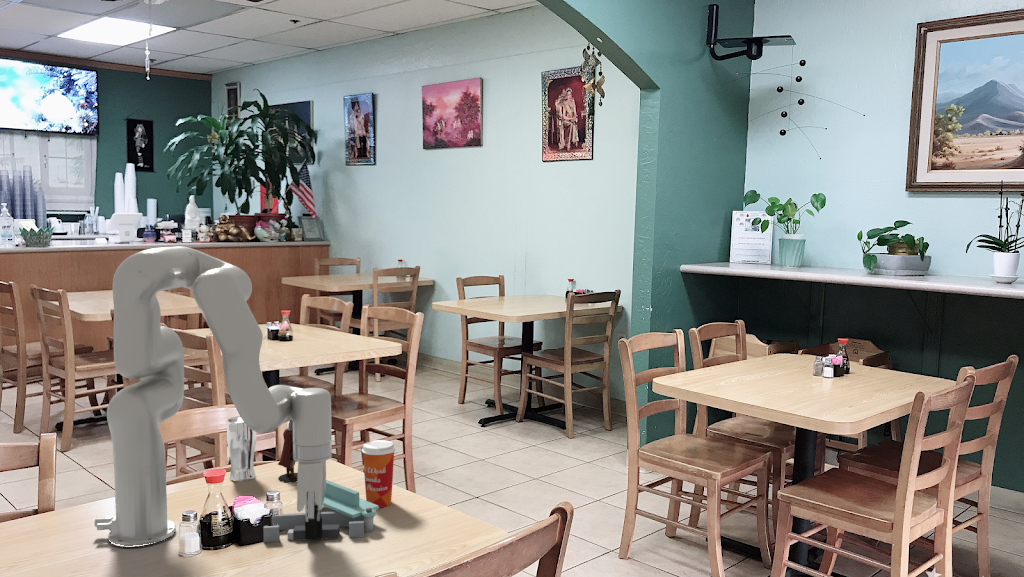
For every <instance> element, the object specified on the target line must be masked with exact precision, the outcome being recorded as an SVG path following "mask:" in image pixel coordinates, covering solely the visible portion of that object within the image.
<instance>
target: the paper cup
mask: <svg viewBox="0 0 1024 577" xmlns="http://www.w3.org/2000/svg"><path fill="white" fill-rule="evenodd" d="M395 451H397V450H396V447H395V445H394V442H392V441H391V440H390V441H389V440H386V439H385V440H384V439H377V440H370V441H367V442H365V443H364V444H363V446H362V449H361V452H362V454H363V455H362V456H363V457H362V458H363V473H364V487H365V498H366V499H365V501H368V502H371V503H373V504H376V505H378V506H379V509H381V508H385V507H386V508H387V507H388V506H390V505H391V503H392V496H393V494H392V493H393V479H394V463H395V462H394V460H395V459H394V458H395Z"/></svg>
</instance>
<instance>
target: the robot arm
mask: <svg viewBox="0 0 1024 577" xmlns="http://www.w3.org/2000/svg"><path fill="white" fill-rule="evenodd" d="M179 288H184V289H187V290H190V291H192V295H193V298H194V300H195V302H196V304H197V307H198V308H199V310H200V312H201V315H202V316H203V319H204V321H206V324H207V326H208V328H209V330H210V331H211V334H212V335H213V338H214V339H215V341H216V343H217V344H216V345H218V347H219V350H220V351H221V355H222V368H223V374H224V375H223V376H224V380H225V381H224V382H225V385H226V389H227V392H228V395H229V397H230V399H231V401H232V403H233V405H234V408H235V409H236V411H237V412H238V415H239V416H240V417H241V418H242V420H243V421H244V423H245V424H246V425H247V426H248V427H249V428H250V429H252V430H253V431H255V432H256V433H259V434H260V433H261V434H265V433H271V432H273V431H275V430H276V429H278V428H279V427H280V426H282V424H285V423H287V422H290V420H292V421H293V459H294V460H295V462H296V461H297V473H298V475H297V482H296V483H297V484H296V485H297V488H296V489H297V490H296V495H297V496H296V497H297V498H296V500H297V501H296V511H297V512H298V513H299V512H300V513H301V511H304V509H305V512H304V513H306V520H305V539H306V540H305V541H317V540H318V541H320V540H322V539H321V538H322V518H320V517H321V512H322V509H323V507H324V506H323V503H324V498H325V490H326V480H327V461H328V460H330V459H331V458H332V456H333V453H332V452H333V449H332V445H333V444H332V441H333V440H332V396H331V393H330V392H329V390H328V389H326V388H322V387H305V388H303V387H302V388H301V387H297V386H292V385H286V384H276V385H272V386H270V387H269V388H268V386H267V383H266V382H265V379H264V376H263V374H262V371H261V370H262V369H261V365H260V353H261V349H262V346H263V345H262V344H263V338H264V337H263V331H262V329H261V328H260V325H259V323H258V322H257V320H256V317H255V316H254V313H253V312H252V310H251V308H250V306H249V304H248V302H247V301H248V300H249V299H250V298H251V295H252V293H253V292H252V291H253V283H252V280H251V278H250V277H249V275H248V273H247V272H245V270H243V269H241V268H240V267H238V266H236V265H234V264H231V263H229V262H226V261H224V260H222V259H219V258H217V257H215V256H212V255H210V254H207V253H205V252H203V251H200V250H197V249H194V248H192V247H187V246H182V245H181V246H179V245H178V246H165V247H163V246H162V247H154V248H148V249H144V250H141V251H138V252H136V253H134V254H131V255H129V256H128V257H127V258H125V259H124V260H123V261H122V262H121V263H120V264H119V265H118V266H117V268H116V270H115V272H114V274H113V279H112V300H113V362H114V363H113V364H114V367H115V369H116V372H117V373H119V375H120V376H122V377H124V378H126V379H132V380H137V379H139V382H138V381H137V382H135V383H133V384H131V385H128V386H126V387H124V388H122V389H120V390H119V391H118V392H116V393H115V394H114V395H113V396H112V397H111V398H110V400H109V403H108V405H107V409H106V419H107V424H108V429H109V432H110V437H111V443H112V456H113V470H114V471H113V472H114V473H113V474H114V477H113V478H114V498H115V500H114V501H115V514H113V515H111V516H109V517H108V516H100V517H99V516H98V517H97V516H96V517H95V519H94V527H95V528H96V530H97V531H105V530H109V533H108V535H107V539H109V540H110V541H111V542H113V543H115V544H120V545H124V546H133V545H143V544H149V543H150V544H151V543H154V542H159V541H161V540H164V539H166V538H168V537H170V536H171V537H172V536H174V534H175V533H176V531H177V530H176V528H177V527H176V524H175V523H174V522H173V520H169V519H168V505H167V504H168V500H167V499H168V498H167V470H166V468H167V467H166V447H165V444H164V439H163V436H162V433H161V430H160V427H159V425H160V424H161V423H163V422H164V421H166V420H168V419H171V417H173V416H175V415H176V414H177V413H178V412H179V410H180V409H181V407H182V405H183V402H184V395H185V352H184V351H185V350H184V346H183V342H182V340H181V338H180V336H179V335H178V334H177V333H176V332H175V330H173V329H171V328H169V327H167V326H165V325H161V317H162V316H161V312H162V311H161V308H160V303H159V300H158V298H157V293H159V292H163V291H168V290H173V289H174V290H175V289H179ZM175 530H176V531H175ZM174 532H175V533H174ZM171 537H170V538H171ZM168 539H169V538H168ZM166 540H167V539H166ZM164 541H165V540H164ZM159 543H160V542H159Z"/></svg>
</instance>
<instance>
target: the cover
mask: <svg viewBox="0 0 1024 577" xmlns="http://www.w3.org/2000/svg"><path fill="white" fill-rule="evenodd" d="M323 507H325V508H328V509H330V510H333V512H336V511H337V512H339V513H341V514H344V515H346V516H349V517H351V518H355V517H358V516H360V515H362V516H363V517H373V518H374V517H376V515H377V510H380V508H379V506H378V505H376V504H373V503H371V502H368V501H366V499H363V498H360V492H359V491H357V490H353V489H351V488H349V487H346V486H344V485H341V484H339V483H336V482H333V481H331V480H328V479H326V490H325V498H324V503H323Z"/></svg>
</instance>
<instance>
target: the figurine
mask: <svg viewBox="0 0 1024 577" xmlns="http://www.w3.org/2000/svg"><path fill="white" fill-rule="evenodd" d="M282 436H283V444H282V445H283V446H282V450H281V451H282V452H281V455H280V460H279V461H278V463H277V465H278V466H280V467H284V468H285V470H286V473H284V474H281V475H279V476H278V477H277V478H278V479H277V480H278V481H279V480H280V481H279V482H281V481H284V482H283V483H289V482H292V483H297V482H296V481H297V475H298V472H295V465H296V462H297V461H295V460H294V459H293V421H292V420H290V421H288V428H286V429H285V430H284V431H283V434H282ZM297 463H298V462H297Z"/></svg>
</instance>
